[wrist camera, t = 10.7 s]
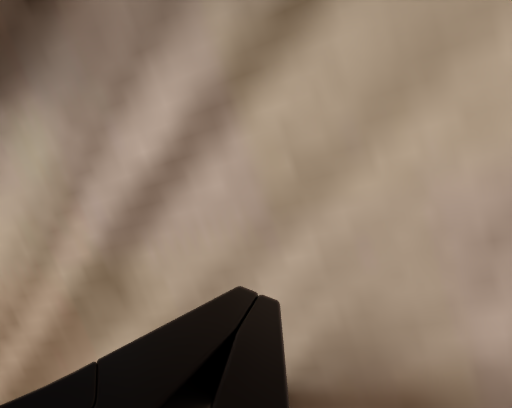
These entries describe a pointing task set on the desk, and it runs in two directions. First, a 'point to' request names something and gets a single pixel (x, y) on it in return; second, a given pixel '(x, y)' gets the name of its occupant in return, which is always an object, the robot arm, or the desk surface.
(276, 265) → the desk surface
